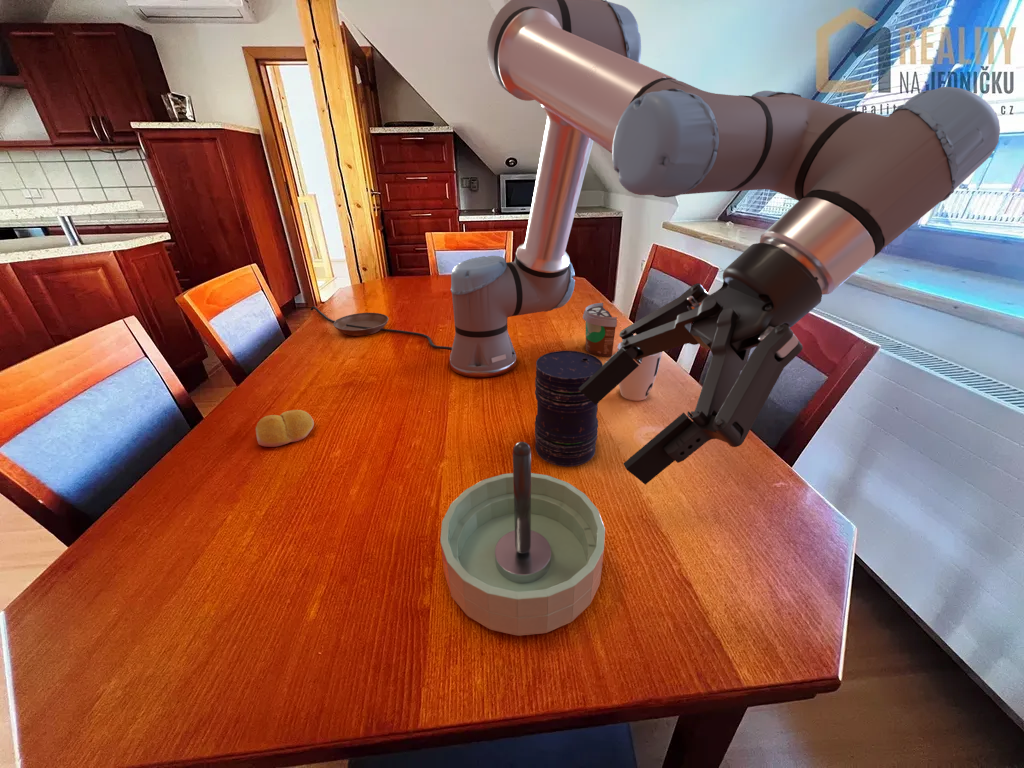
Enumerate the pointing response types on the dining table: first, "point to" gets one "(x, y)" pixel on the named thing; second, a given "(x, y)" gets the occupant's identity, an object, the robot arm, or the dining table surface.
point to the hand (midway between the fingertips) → (606, 430)
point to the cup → (640, 378)
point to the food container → (599, 330)
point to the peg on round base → (522, 529)
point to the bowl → (491, 516)
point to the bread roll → (283, 428)
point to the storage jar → (565, 408)
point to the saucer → (361, 323)
